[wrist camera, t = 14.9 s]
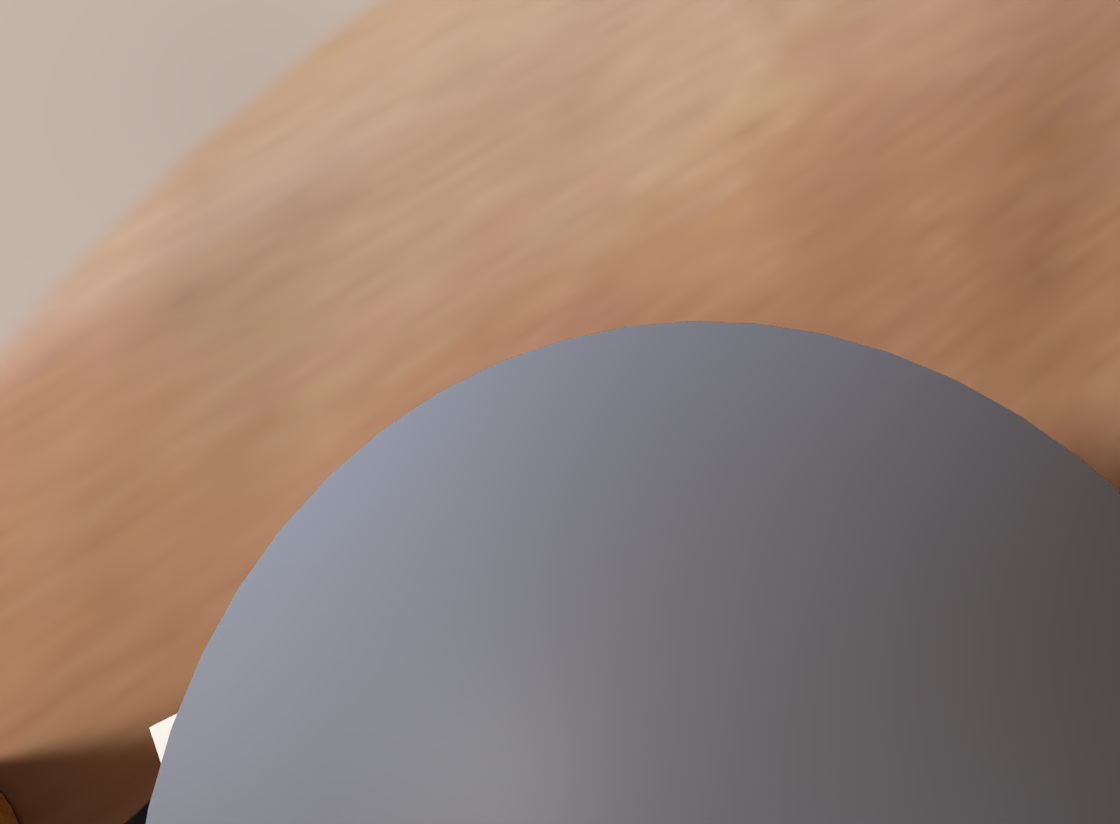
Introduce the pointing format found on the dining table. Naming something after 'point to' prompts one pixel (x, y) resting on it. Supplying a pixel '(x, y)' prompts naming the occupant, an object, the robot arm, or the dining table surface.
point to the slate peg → (675, 606)
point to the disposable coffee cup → (6, 812)
